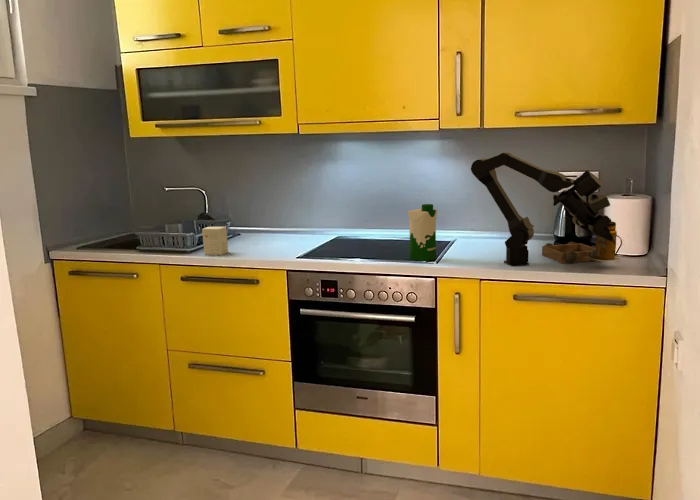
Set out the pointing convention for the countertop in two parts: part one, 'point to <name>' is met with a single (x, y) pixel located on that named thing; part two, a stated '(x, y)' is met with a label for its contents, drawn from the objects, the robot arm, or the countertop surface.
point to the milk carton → (423, 233)
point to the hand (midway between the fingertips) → (608, 238)
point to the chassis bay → (568, 252)
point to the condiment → (606, 246)
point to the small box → (215, 240)
